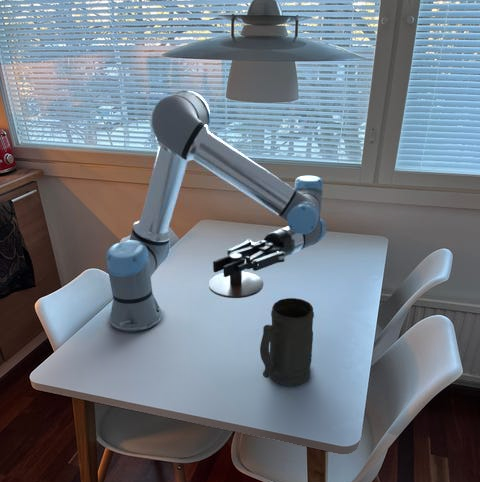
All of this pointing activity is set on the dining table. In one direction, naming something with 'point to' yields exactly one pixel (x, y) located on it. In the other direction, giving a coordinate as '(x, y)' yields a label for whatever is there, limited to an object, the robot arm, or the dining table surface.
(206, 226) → the dining table surface
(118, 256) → the robot arm
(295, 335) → the beer stein
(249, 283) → the lid
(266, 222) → the dining table surface
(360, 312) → the dining table surface
